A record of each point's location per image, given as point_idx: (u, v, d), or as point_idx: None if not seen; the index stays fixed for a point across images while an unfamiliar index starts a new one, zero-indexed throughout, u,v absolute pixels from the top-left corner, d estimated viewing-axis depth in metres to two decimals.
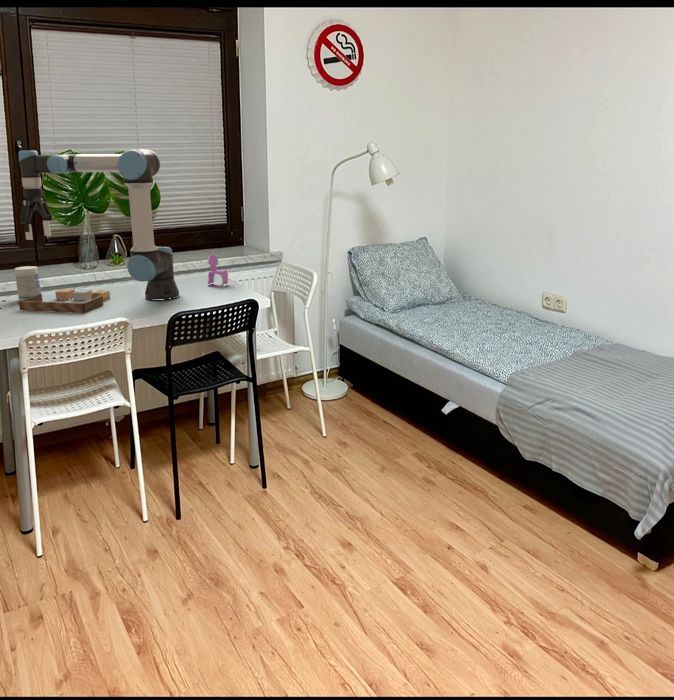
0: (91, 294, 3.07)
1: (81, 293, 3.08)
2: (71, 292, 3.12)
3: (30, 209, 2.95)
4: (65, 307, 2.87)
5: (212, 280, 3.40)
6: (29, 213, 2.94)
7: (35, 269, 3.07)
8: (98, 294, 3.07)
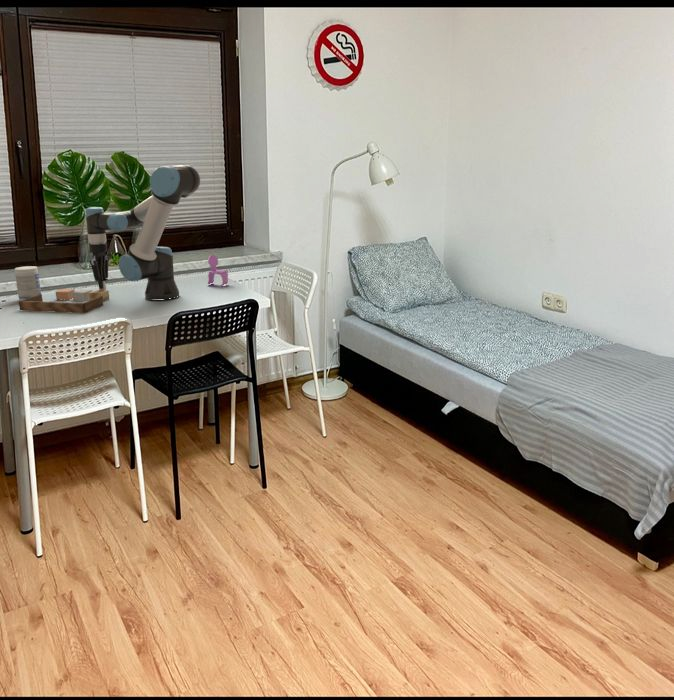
0: (90, 294, 3.07)
1: (80, 293, 3.08)
2: (71, 292, 3.13)
3: (98, 266, 3.07)
4: (65, 307, 2.87)
5: (212, 280, 3.40)
6: (99, 270, 3.08)
7: (35, 269, 3.07)
8: (96, 294, 3.06)
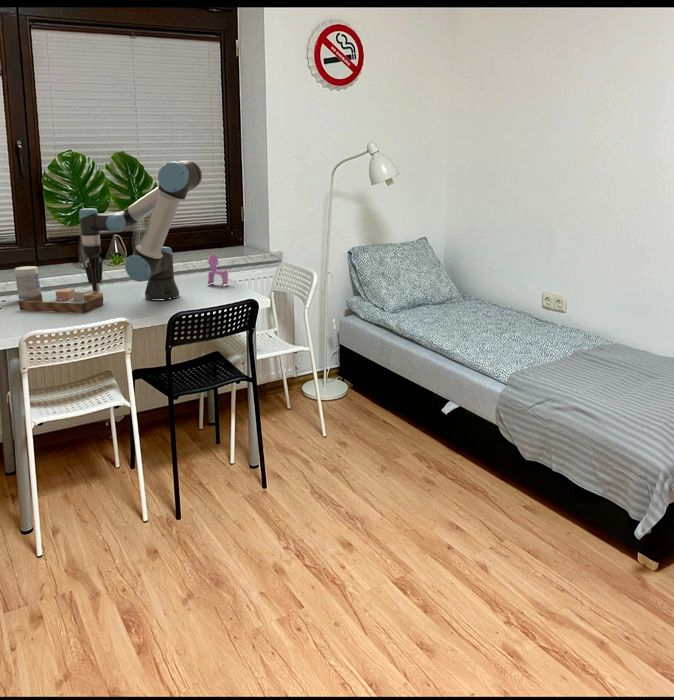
0: (84, 296, 3.02)
1: (80, 293, 3.08)
2: (71, 292, 3.13)
3: (92, 268, 3.02)
4: (65, 307, 2.87)
5: (212, 280, 3.40)
6: (93, 272, 3.03)
7: (35, 269, 3.07)
8: (91, 296, 3.01)
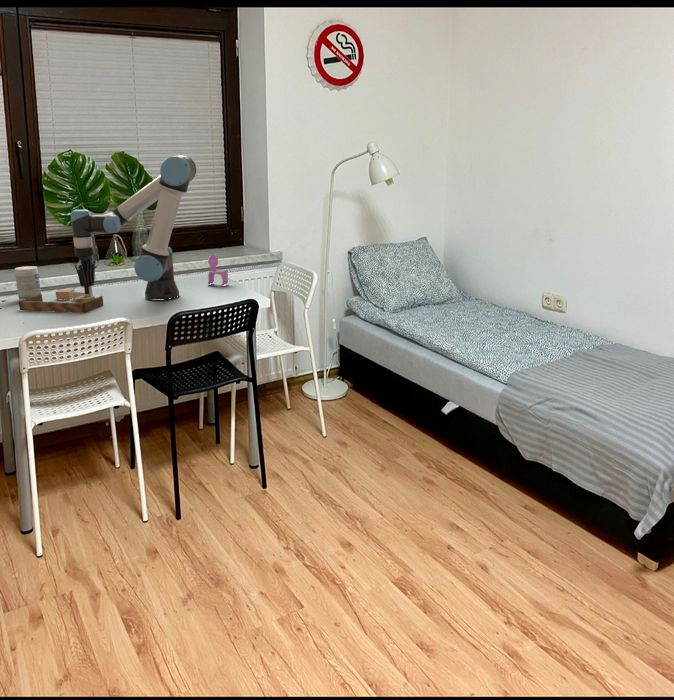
0: (75, 300, 2.95)
1: (80, 293, 3.08)
2: (71, 292, 3.13)
3: (84, 270, 2.96)
4: (65, 307, 2.87)
5: (212, 280, 3.40)
6: (85, 275, 2.96)
7: (35, 269, 3.07)
8: (83, 300, 2.95)
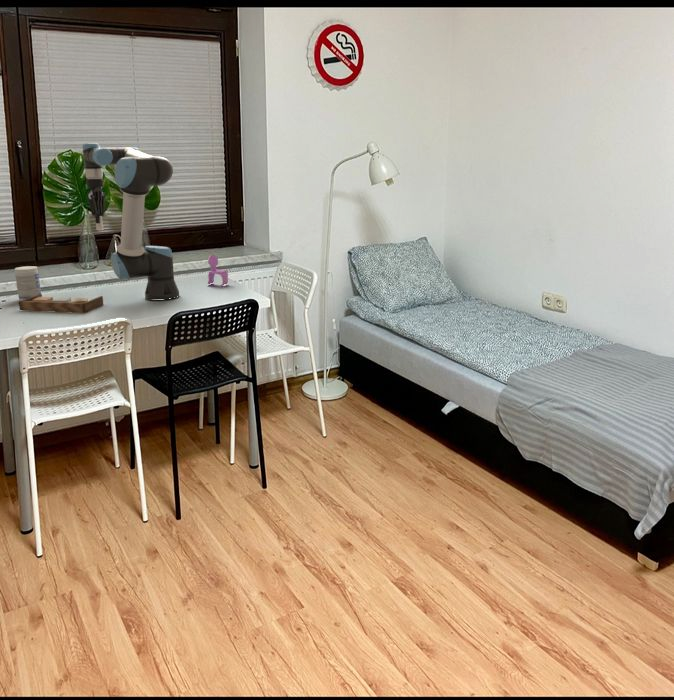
0: None
1: (62, 301, 2.93)
2: (49, 300, 2.97)
3: (95, 200, 3.18)
4: (65, 307, 2.87)
5: (212, 280, 3.40)
6: (96, 205, 3.18)
7: (35, 269, 3.07)
8: (81, 302, 2.91)
